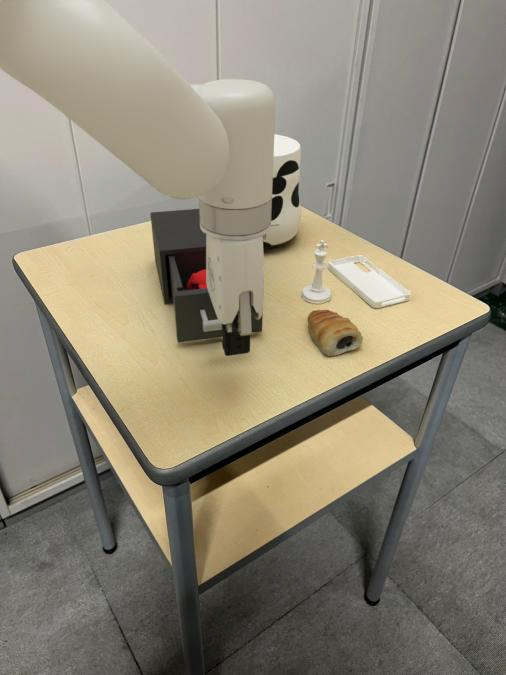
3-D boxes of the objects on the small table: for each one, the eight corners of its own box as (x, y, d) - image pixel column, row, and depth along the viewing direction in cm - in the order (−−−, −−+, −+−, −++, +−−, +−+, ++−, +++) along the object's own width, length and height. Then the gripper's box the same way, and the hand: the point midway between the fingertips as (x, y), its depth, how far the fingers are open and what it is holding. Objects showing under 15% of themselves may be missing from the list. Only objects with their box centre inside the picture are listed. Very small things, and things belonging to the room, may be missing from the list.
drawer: (270, 349, 73) (272, 302, 68) (182, 361, 70) (178, 313, 65) (240, 285, 86) (241, 243, 82) (166, 293, 84) (162, 250, 79)
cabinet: (246, 295, 86) (247, 242, 80) (164, 304, 83) (159, 250, 77) (228, 254, 97) (227, 206, 91) (155, 262, 94) (150, 212, 88)
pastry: (295, 324, 79) (297, 303, 77) (334, 315, 81) (337, 295, 79) (325, 360, 72) (328, 338, 70) (366, 350, 74) (371, 328, 72)
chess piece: (335, 302, 85) (342, 246, 79) (306, 305, 84) (312, 249, 78) (325, 286, 88) (331, 232, 82) (297, 289, 87) (302, 235, 81)
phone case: (326, 267, 94) (374, 309, 83) (326, 260, 93) (375, 302, 82) (360, 260, 96) (411, 300, 85) (361, 253, 96) (412, 293, 85)
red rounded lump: (182, 296, 81) (180, 262, 78) (218, 288, 83) (217, 255, 80) (199, 323, 75) (198, 287, 72) (237, 314, 77) (237, 279, 74)
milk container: (265, 212, 113) (268, 126, 103) (317, 241, 102) (327, 148, 92) (197, 230, 105) (192, 139, 94) (245, 264, 94) (246, 165, 83)
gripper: (188, 189, 59) (196, 321, 70) (213, 248, 47) (218, 395, 58) (252, 184, 60) (250, 314, 71) (291, 240, 49) (281, 385, 60)
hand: (236, 350), depth 65 cm, fingers closed
